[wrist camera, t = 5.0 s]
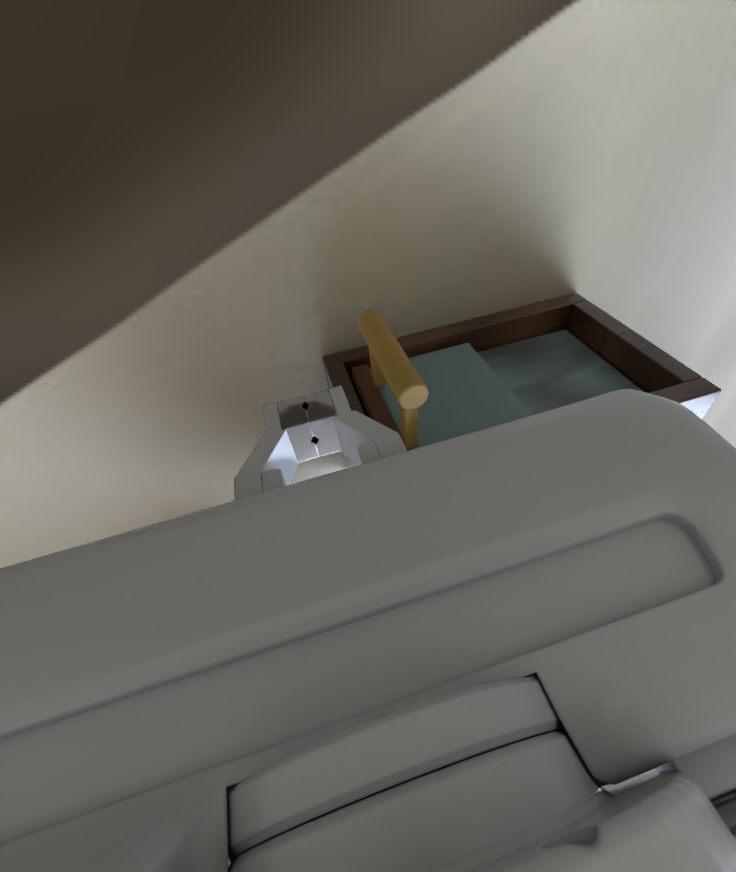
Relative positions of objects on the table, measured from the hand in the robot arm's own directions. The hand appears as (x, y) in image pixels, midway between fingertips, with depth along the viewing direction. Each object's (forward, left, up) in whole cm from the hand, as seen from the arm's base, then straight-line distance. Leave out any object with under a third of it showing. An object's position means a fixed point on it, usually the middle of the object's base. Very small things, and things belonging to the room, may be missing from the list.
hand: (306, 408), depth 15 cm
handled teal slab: (-6, +2, -6) cm, 9 cm away
